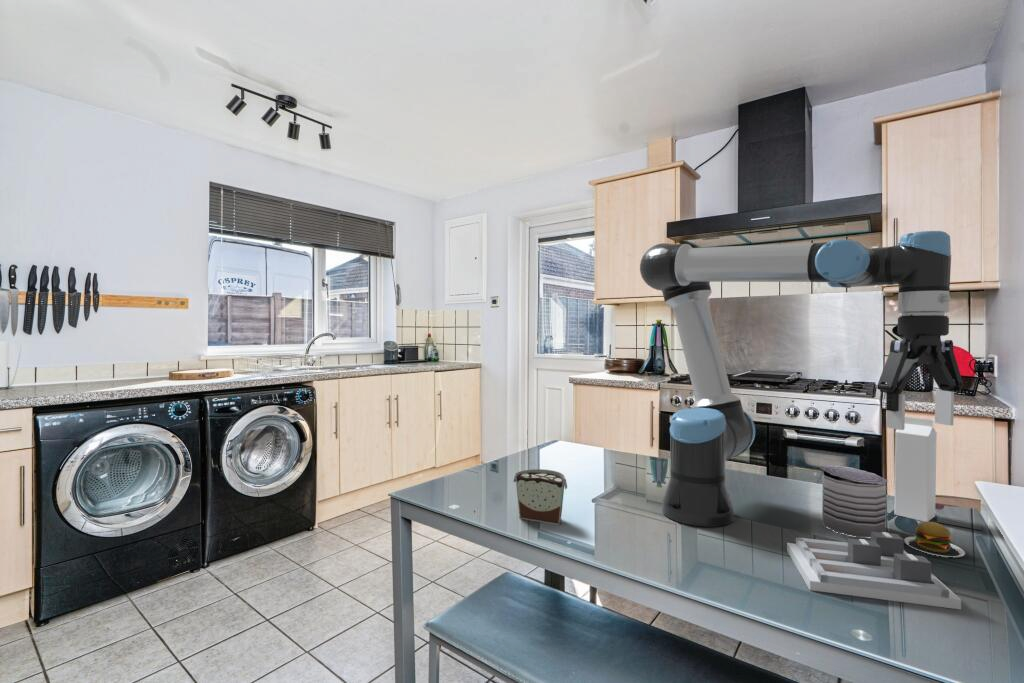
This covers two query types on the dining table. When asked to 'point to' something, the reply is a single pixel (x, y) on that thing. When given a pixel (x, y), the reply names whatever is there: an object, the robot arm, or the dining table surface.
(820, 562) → the panel
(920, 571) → the breaker near
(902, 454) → the milk
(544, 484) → the food container
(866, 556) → the breaker mid
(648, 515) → the dining table surface
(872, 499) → the can
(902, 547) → the breaker far
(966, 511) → the dining table surface
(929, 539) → the hamburger
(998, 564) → the dining table surface
